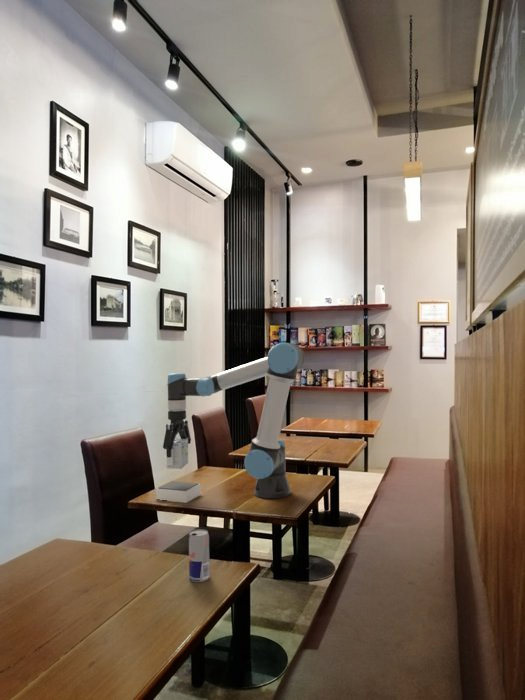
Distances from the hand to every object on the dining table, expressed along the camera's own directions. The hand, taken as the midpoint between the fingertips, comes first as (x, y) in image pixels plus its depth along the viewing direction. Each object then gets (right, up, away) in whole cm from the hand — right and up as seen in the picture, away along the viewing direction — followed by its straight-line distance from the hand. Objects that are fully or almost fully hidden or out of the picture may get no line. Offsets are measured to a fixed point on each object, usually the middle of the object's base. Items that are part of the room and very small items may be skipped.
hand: (177, 462), depth 210 cm
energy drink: (+19, -13, -78) cm, 81 cm away
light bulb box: (0, -2, 0) cm, 2 cm away
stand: (0, -15, 0) cm, 15 cm away
